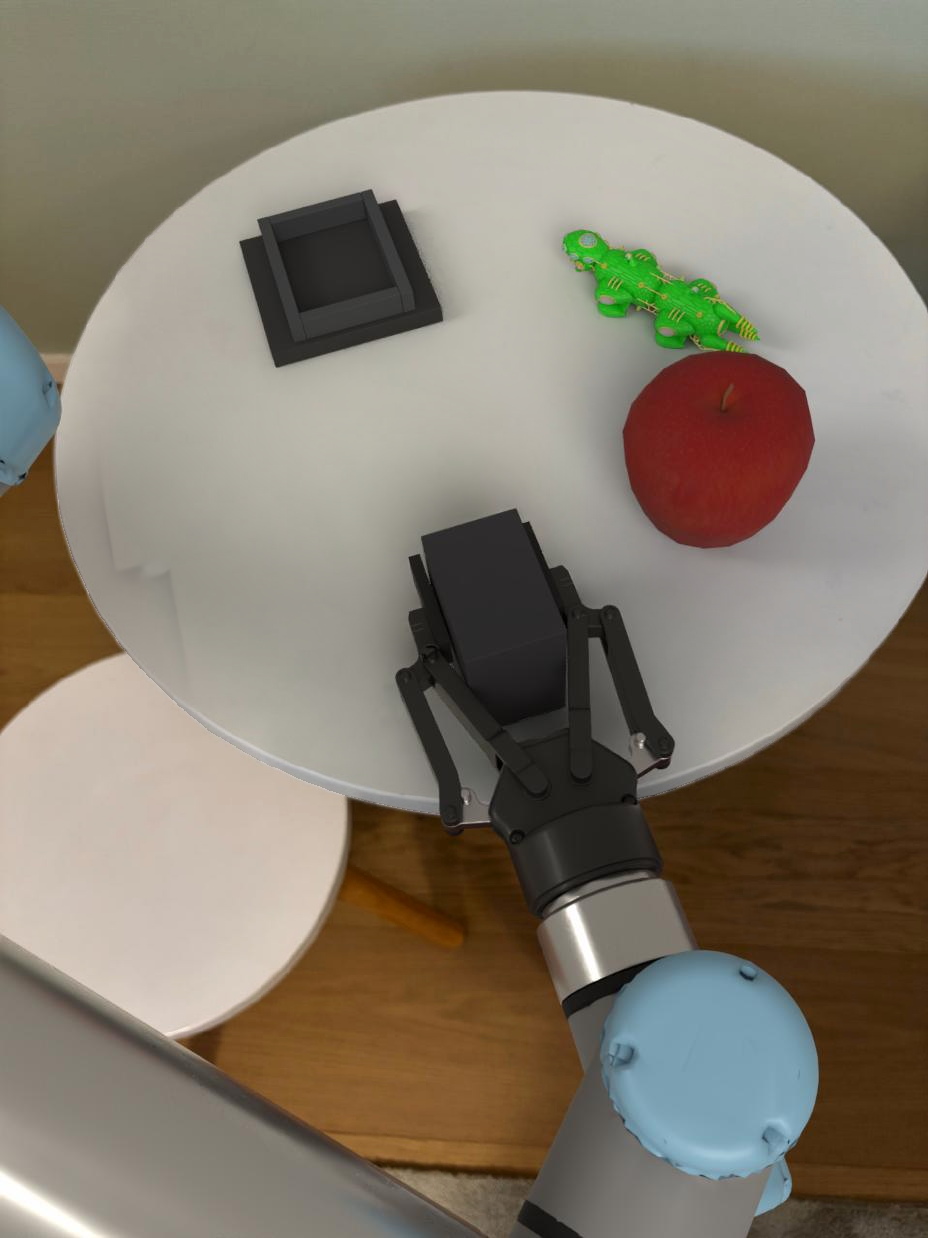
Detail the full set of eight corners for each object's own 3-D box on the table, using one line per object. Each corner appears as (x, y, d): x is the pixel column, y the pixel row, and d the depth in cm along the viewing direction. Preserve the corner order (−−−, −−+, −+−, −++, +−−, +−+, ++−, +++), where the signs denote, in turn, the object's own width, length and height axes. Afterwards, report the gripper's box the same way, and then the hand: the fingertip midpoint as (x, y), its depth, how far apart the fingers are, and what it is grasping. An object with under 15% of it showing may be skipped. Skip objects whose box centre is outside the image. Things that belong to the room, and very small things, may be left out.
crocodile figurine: (588, 242, 87) (590, 199, 83) (774, 335, 80) (784, 293, 77) (539, 287, 85) (538, 245, 81) (725, 387, 78) (734, 346, 74)
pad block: (476, 735, 66) (464, 663, 57) (437, 618, 70) (420, 535, 61) (566, 707, 66) (567, 631, 58) (521, 593, 71) (516, 507, 62)
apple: (727, 425, 76) (757, 285, 65) (823, 539, 71) (876, 408, 59) (585, 490, 74) (590, 358, 63) (673, 613, 69) (697, 493, 57)
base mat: (275, 368, 83) (265, 336, 80) (243, 254, 90) (232, 221, 87) (443, 321, 84) (439, 287, 81) (398, 213, 91) (393, 178, 88)
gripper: (430, 971, 57) (333, 624, 68) (761, 862, 58) (612, 540, 69) (413, 941, 50) (310, 562, 61) (786, 818, 52) (618, 471, 63)
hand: (470, 551), depth 65 cm, fingers open, 6 cm apart
